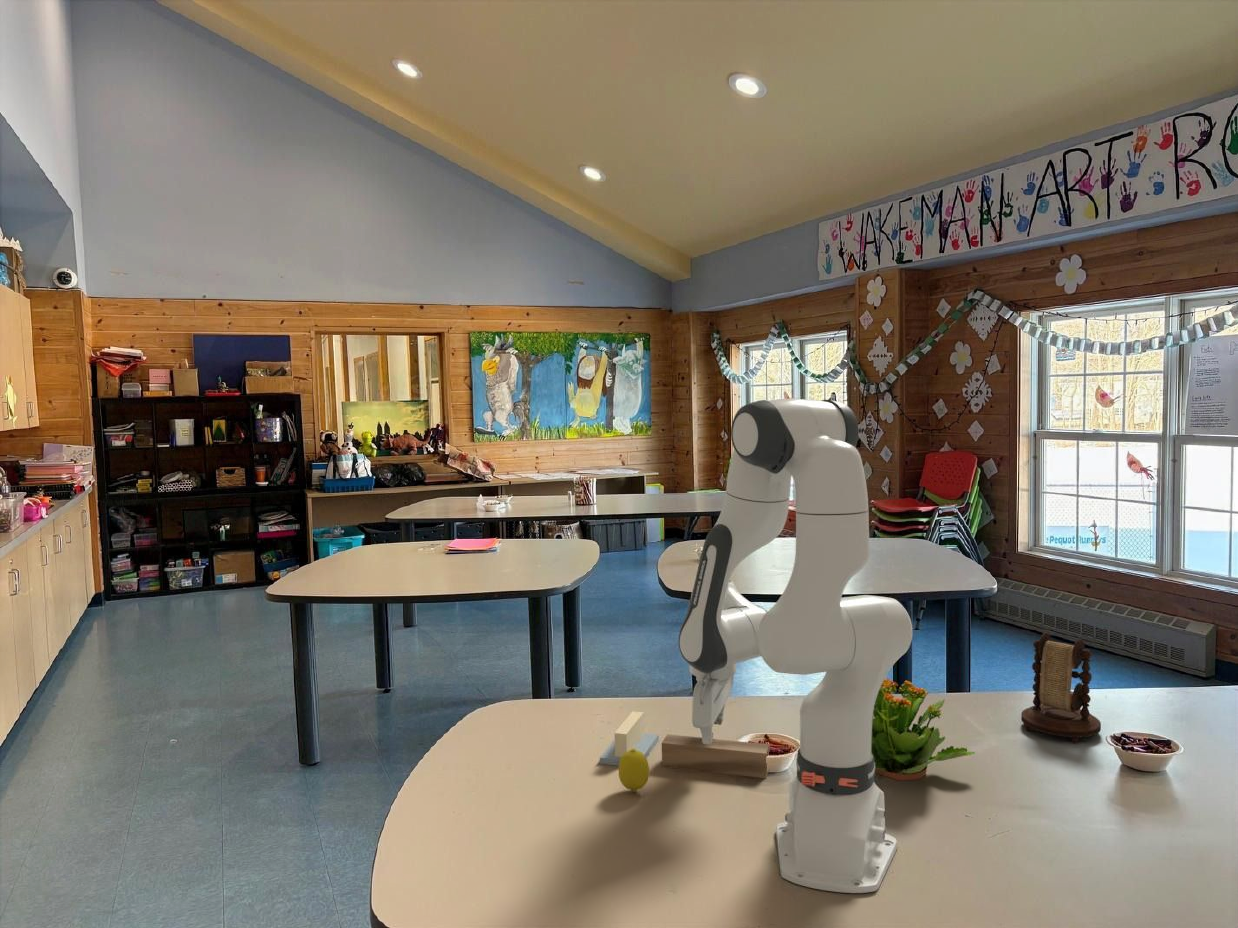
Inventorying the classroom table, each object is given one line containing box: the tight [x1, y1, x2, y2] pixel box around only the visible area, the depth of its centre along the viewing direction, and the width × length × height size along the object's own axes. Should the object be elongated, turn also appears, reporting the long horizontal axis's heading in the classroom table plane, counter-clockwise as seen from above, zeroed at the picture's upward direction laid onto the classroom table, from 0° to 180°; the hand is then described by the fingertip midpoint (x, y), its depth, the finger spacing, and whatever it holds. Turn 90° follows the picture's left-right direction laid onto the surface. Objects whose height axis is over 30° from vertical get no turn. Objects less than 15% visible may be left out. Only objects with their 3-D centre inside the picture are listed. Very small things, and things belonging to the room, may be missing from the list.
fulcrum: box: [599, 711, 660, 767], centre depth 180 cm, size 14×8×6 cm, turn 162°
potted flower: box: [871, 677, 976, 781], centre depth 167 cm, size 25×24×18 cm
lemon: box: [618, 749, 650, 793], centre depth 162 cm, size 6×6×8 cm
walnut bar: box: [661, 734, 771, 779], centre depth 171 cm, size 4×20×5 cm, turn 72°
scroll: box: [1020, 632, 1102, 744], centre depth 185 cm, size 15×15×20 cm
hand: (712, 732), depth 172 cm, fingers open, 8 cm apart
